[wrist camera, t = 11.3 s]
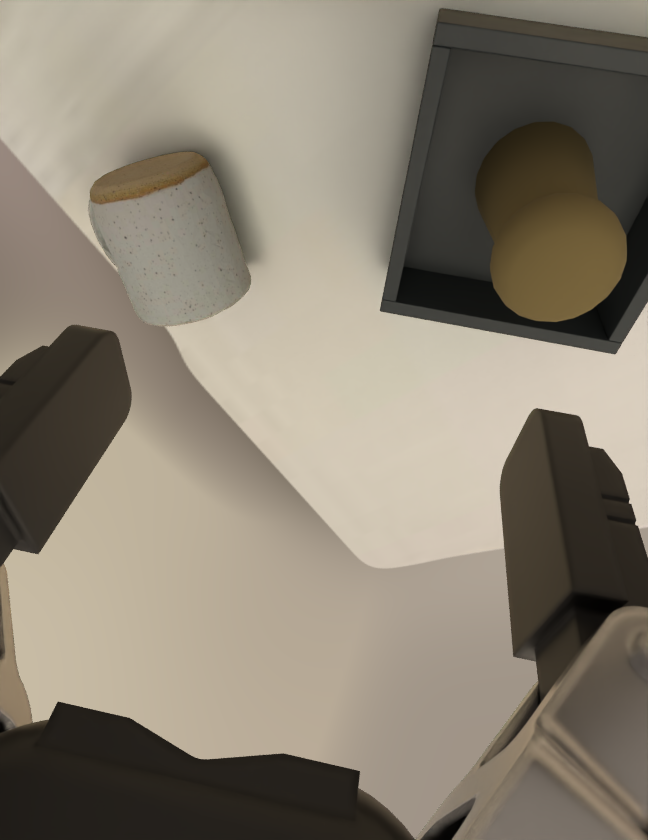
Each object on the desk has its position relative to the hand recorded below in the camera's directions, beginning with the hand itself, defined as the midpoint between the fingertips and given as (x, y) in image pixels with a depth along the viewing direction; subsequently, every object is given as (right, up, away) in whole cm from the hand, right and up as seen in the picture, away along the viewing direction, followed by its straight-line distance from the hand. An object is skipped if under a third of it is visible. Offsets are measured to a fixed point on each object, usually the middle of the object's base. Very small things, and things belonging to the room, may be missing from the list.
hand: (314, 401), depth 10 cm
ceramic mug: (-9, +13, +24) cm, 29 cm away
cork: (+12, +13, +18) cm, 25 cm away
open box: (+12, +13, +18) cm, 25 cm away
